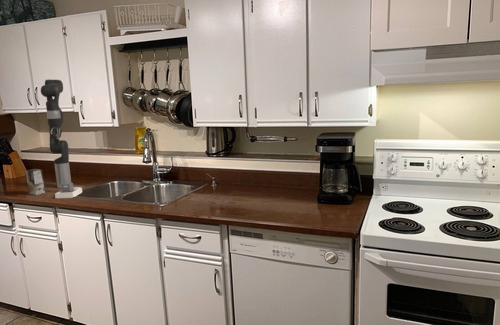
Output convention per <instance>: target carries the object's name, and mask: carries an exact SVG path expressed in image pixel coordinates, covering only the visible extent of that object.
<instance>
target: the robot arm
mask: <svg viewBox="0 0 500 325" xmlns="http://www.w3.org/2000/svg"><path fill="white" fill-rule="evenodd" d="M63 91H64V83H63V81H62V80H60V79H45V81H44V85H42V86H41V88H40V93H41V95H42V96H43V97H45V98H46V102H45V108H46V117H47V118H46V119H47V125H48V127H49V128H48V130H49V132H48V133H49V150H50V153H52V154H54V155H55V154H57V155H58V154H60V155H61V156H60V157H57V158H55V159H54V160H53V162H54V170H55V171H54V172H55V178H56V179H55V180H56V187H57V188H58V189H62V184H64V183H72V178H71V169H70V161H69V160H70V158H69V157H70V154H69V143H68V142H67V141H66V140H64V139H63V140H62V139H61V138H62V137H61V136H62V133H63V129H61V127H62V126H63V123H64V115H63V114H64V112H63V111H62V109H61V108H60V105H59V99H60V95H61V93H63ZM60 139H61V140H60Z"/></svg>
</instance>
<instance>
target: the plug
mask: <svg viewBox="0 0 500 325" xmlns="http://www.w3.org/2000/svg"><path fill="white" fill-rule="evenodd" d="M73 187H74V183H73V182H71V183H64V184H62V188H61V190H62V193H69V192H73V191H74V188H73Z"/></svg>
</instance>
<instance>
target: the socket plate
mask: <svg viewBox="0 0 500 325" xmlns="http://www.w3.org/2000/svg"><path fill="white" fill-rule="evenodd" d="M73 188H74V191H73V192H69V193H62V189H61V190H59V191H57V192H56V193H55V194H54V197H55V199H73V197H74V198H75V197H77V196H78V195H80V194H82V193H83V188H82V187H80V186H78V187H77V186H75V187H74V186H73Z"/></svg>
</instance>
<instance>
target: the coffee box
mask: <svg viewBox="0 0 500 325" xmlns="http://www.w3.org/2000/svg"><path fill="white" fill-rule="evenodd" d="M25 176H26V183H27V190H28V194H29V195H35V196H39V195H42V193H43V194H46V191H45V189H46V188H45V181H44V174H43V169H41V168H40V169H39V168H31V169H27V170H26V169H25Z"/></svg>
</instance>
